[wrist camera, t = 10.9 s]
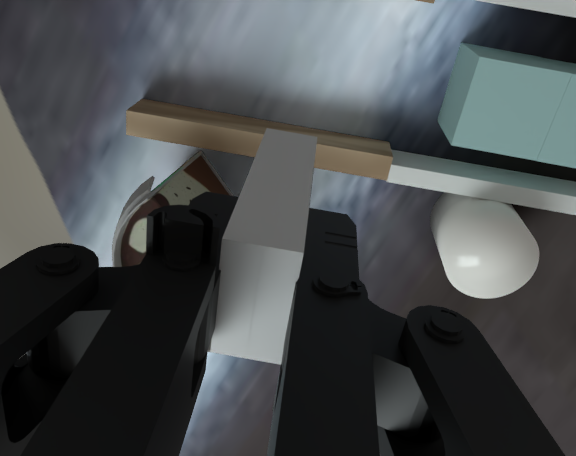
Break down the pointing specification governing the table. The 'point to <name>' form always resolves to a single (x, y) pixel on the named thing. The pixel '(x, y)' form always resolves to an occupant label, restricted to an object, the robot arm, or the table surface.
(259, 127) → the guide channel
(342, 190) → the table surface
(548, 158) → the pale teal cube
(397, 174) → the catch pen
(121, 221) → the food container
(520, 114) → the pale teal block
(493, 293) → the white rounded capsule
